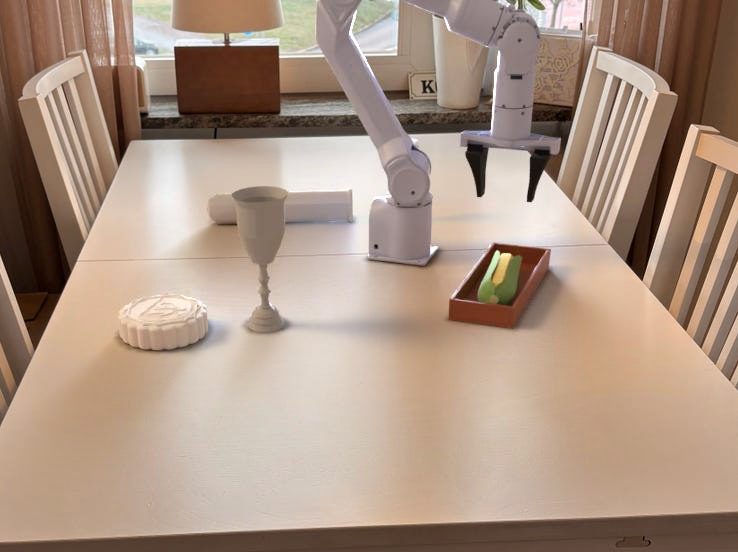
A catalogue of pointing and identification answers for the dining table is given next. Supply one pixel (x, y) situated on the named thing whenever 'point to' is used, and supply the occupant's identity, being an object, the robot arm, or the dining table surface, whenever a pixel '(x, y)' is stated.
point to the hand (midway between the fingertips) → (505, 197)
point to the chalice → (262, 243)
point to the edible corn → (500, 279)
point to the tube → (292, 206)
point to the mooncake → (163, 322)
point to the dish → (530, 276)
